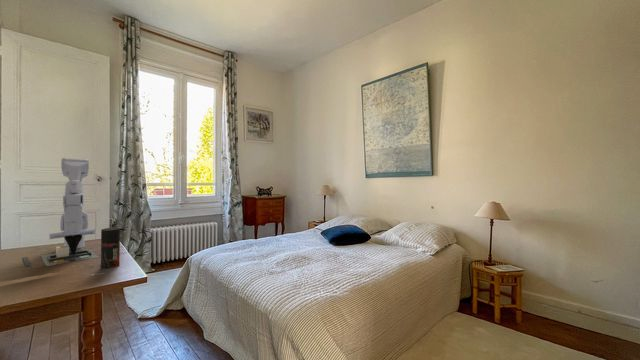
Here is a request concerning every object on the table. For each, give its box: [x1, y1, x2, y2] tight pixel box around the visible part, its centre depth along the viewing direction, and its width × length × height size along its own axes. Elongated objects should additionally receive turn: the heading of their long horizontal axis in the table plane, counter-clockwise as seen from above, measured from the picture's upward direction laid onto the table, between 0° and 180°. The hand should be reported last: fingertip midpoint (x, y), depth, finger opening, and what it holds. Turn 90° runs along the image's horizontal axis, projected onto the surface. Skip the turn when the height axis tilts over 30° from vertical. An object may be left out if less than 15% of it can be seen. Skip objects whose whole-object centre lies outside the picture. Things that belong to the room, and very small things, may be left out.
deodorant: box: [100, 227, 121, 270], centre depth 109 cm, size 6×6×15 cm
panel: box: [40, 247, 99, 267], centre depth 117 cm, size 20×16×2 cm
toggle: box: [55, 244, 70, 258], centre depth 115 cm, size 4×4×5 cm
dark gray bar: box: [22, 256, 32, 268], centre depth 108 cm, size 16×1×1 cm, turn 50°
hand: (73, 252), depth 118 cm, fingers closed
